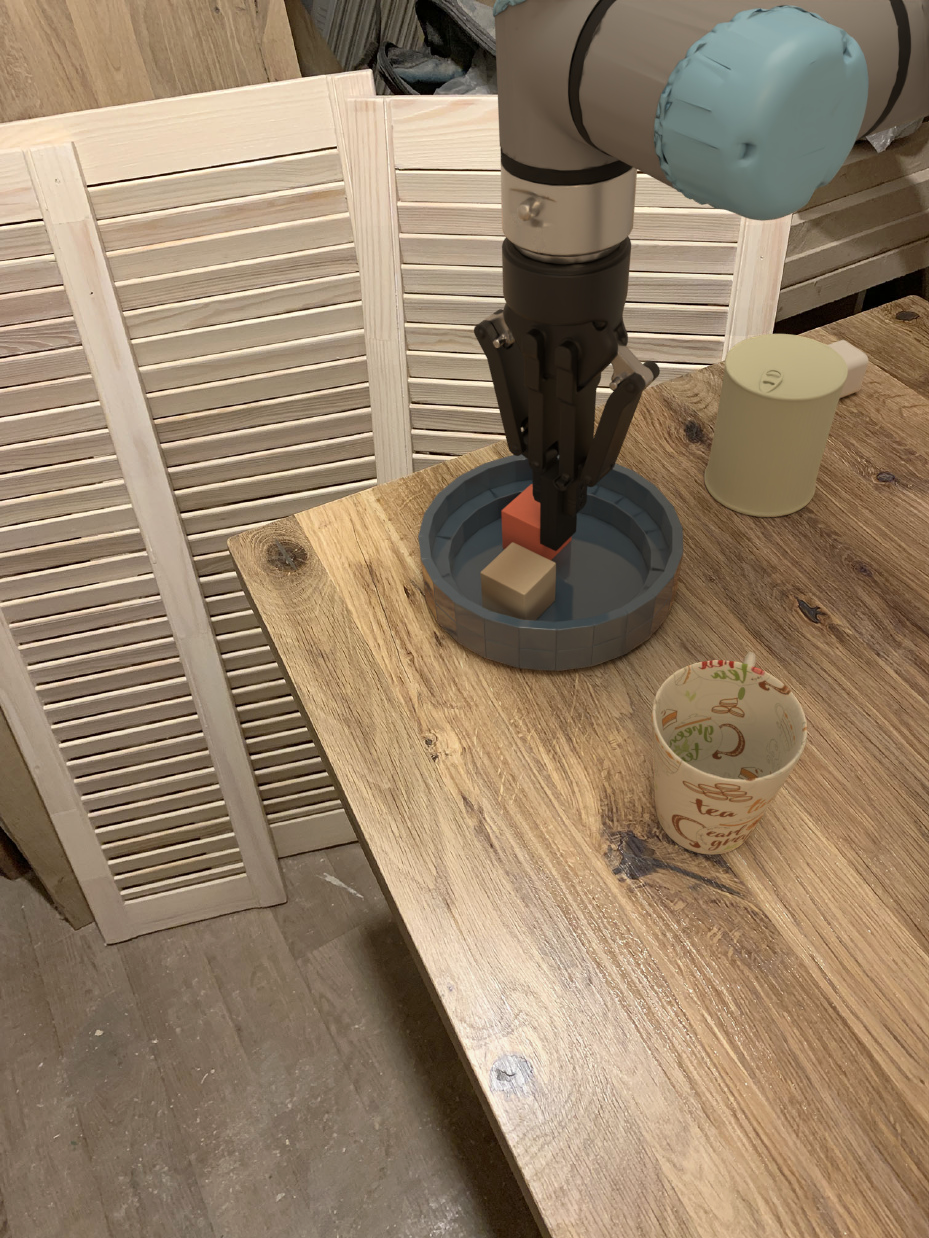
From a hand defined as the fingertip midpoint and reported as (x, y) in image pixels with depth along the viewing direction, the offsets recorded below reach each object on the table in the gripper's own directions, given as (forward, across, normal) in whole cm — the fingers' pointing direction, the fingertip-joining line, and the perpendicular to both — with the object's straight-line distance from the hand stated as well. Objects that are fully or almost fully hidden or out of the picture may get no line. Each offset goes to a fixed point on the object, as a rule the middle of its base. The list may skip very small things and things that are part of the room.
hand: (558, 537), depth 71 cm
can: (+4, +8, +19) cm, 21 cm away
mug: (+4, +19, -10) cm, 22 cm away
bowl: (+4, 0, -1) cm, 4 cm away
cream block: (+3, 0, -5) cm, 6 cm away
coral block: (+3, -3, +1) cm, 4 cm away
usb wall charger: (+4, +6, +34) cm, 34 cm away
